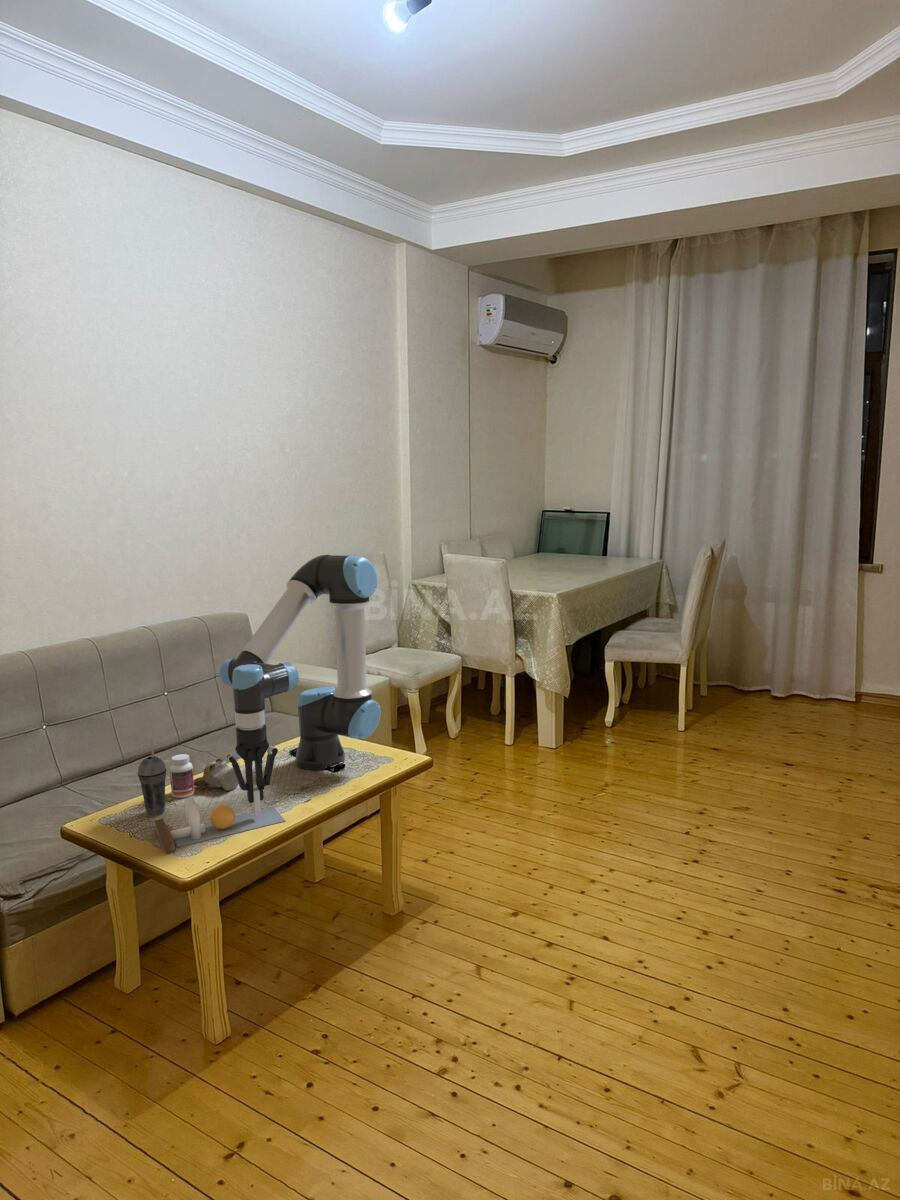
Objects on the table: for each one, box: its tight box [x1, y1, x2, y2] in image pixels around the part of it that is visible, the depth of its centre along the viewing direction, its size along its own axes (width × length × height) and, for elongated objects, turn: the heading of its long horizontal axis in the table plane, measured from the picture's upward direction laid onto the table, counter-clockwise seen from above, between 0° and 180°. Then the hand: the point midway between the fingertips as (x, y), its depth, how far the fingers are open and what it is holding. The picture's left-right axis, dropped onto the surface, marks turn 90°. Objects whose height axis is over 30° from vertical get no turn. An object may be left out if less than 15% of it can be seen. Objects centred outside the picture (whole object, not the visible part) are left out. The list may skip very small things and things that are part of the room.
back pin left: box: [189, 803, 201, 840], centre depth 197 cm, size 2×2×8 cm
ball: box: [209, 804, 236, 830], centre depth 203 cm, size 6×6×6 cm
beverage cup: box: [137, 739, 167, 817], centre depth 212 cm, size 7×7×20 cm
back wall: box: [154, 818, 176, 855], centre depth 196 cm, size 2×14×3 cm, turn 30°
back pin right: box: [184, 796, 196, 827], centre depth 201 cm, size 2×2×8 cm
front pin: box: [169, 822, 206, 840], centre depth 199 cm, size 2×2×8 cm
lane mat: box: [174, 806, 286, 848], centre depth 204 cm, size 27×10×1 cm, turn 120°
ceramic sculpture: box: [194, 758, 239, 792], centre depth 230 cm, size 11×9×15 cm
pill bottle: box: [169, 753, 195, 799], centre depth 225 cm, size 6×6×11 cm
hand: (256, 812), depth 207 cm, fingers closed
